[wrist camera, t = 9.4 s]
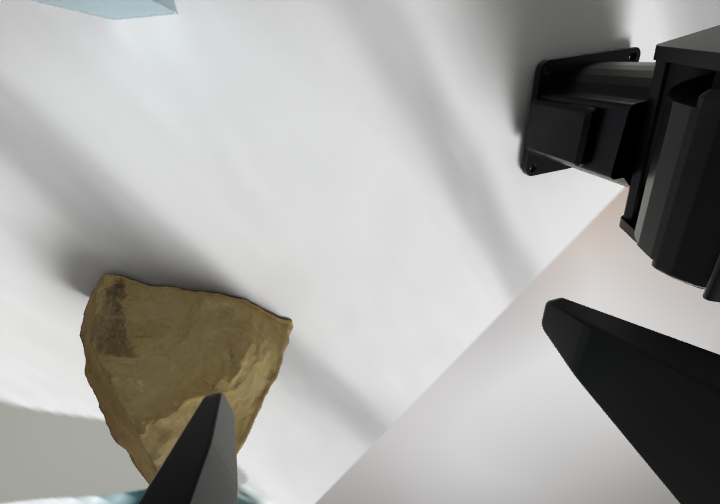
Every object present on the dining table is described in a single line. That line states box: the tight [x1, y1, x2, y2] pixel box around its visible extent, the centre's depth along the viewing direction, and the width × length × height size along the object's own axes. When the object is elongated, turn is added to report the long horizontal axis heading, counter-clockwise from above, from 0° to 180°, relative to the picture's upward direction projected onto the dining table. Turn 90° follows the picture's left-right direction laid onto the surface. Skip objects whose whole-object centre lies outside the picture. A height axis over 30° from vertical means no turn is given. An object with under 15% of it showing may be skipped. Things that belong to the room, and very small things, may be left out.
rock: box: [80, 274, 293, 485], centre depth 19 cm, size 11×9×10 cm
